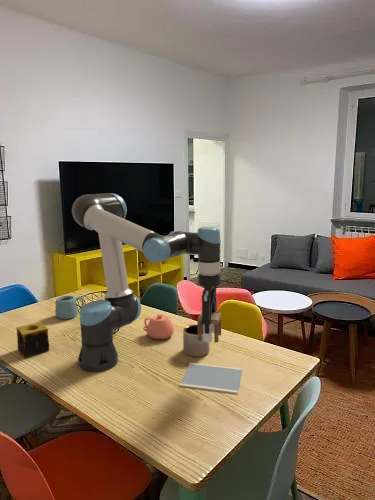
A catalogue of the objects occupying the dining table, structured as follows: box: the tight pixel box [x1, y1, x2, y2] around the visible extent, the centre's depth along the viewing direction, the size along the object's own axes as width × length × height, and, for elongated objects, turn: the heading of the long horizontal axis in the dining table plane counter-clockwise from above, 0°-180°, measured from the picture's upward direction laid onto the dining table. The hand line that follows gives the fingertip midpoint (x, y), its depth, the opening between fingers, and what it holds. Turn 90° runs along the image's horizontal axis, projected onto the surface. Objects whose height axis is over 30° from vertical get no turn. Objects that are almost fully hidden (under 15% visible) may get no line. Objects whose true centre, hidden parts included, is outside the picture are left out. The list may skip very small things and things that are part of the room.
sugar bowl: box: [142, 313, 175, 340], centre depth 170 cm, size 12×14×10 cm
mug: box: [54, 295, 85, 320], centre depth 194 cm, size 15×11×10 cm
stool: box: [196, 311, 222, 343], centre depth 131 cm, size 7×7×8 cm
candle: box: [16, 321, 50, 359], centre depth 156 cm, size 10×10×10 cm
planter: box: [182, 324, 211, 358], centre depth 154 cm, size 11×11×10 cm
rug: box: [178, 362, 243, 395], centre depth 135 cm, size 20×16×1 cm
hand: (209, 336), depth 132 cm, fingers closed on stool, 7 cm apart
